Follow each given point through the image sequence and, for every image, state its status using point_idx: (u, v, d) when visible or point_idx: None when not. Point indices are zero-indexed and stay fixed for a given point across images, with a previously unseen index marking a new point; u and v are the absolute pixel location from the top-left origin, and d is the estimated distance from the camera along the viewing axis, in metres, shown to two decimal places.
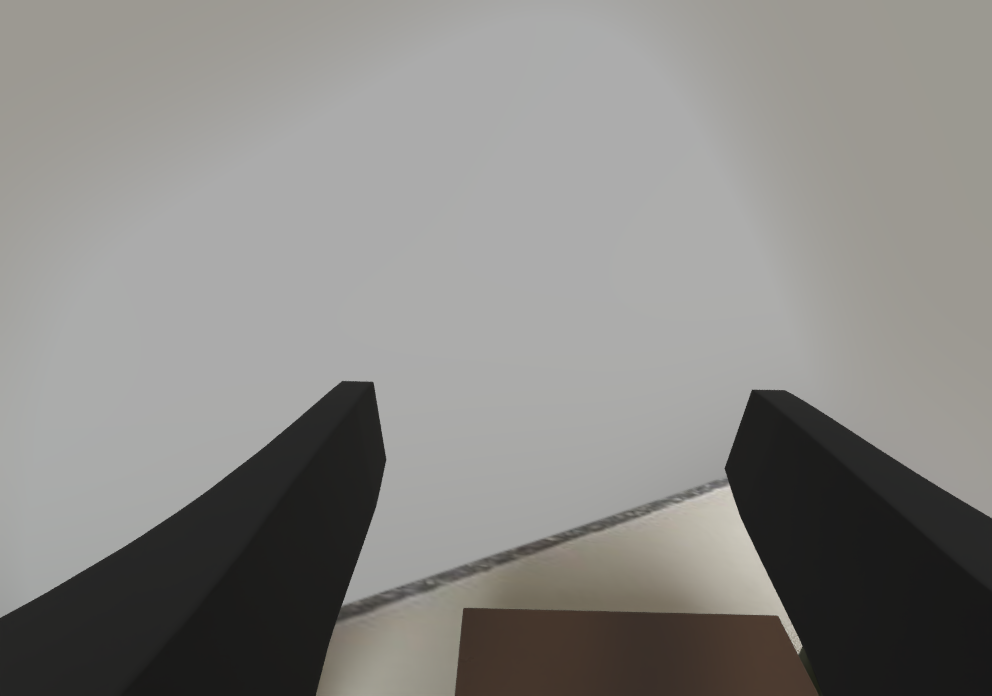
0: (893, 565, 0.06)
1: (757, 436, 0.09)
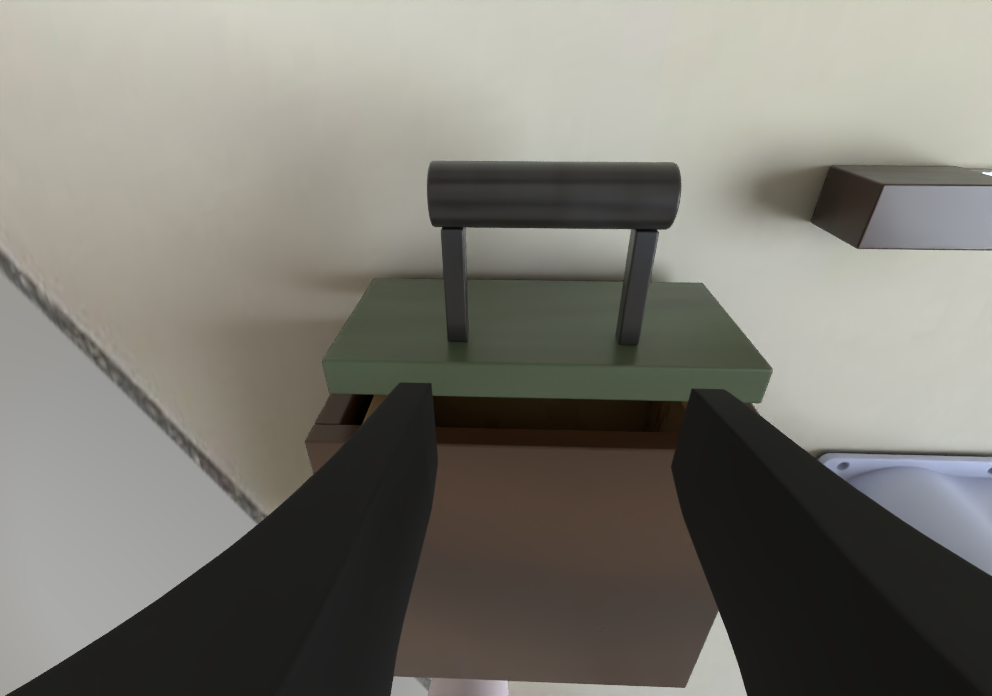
0: (800, 562, 0.06)
1: (695, 434, 0.09)
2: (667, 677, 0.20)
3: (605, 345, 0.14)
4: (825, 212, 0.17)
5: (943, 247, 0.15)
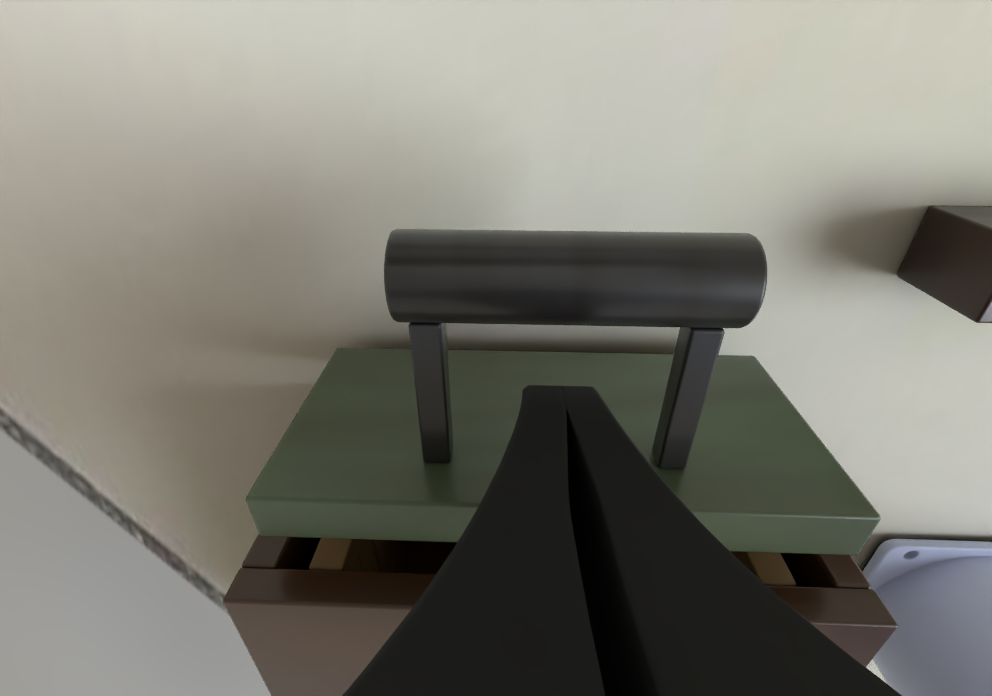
0: (599, 556, 0.06)
1: None
2: None
3: None
4: (921, 266, 0.13)
5: None
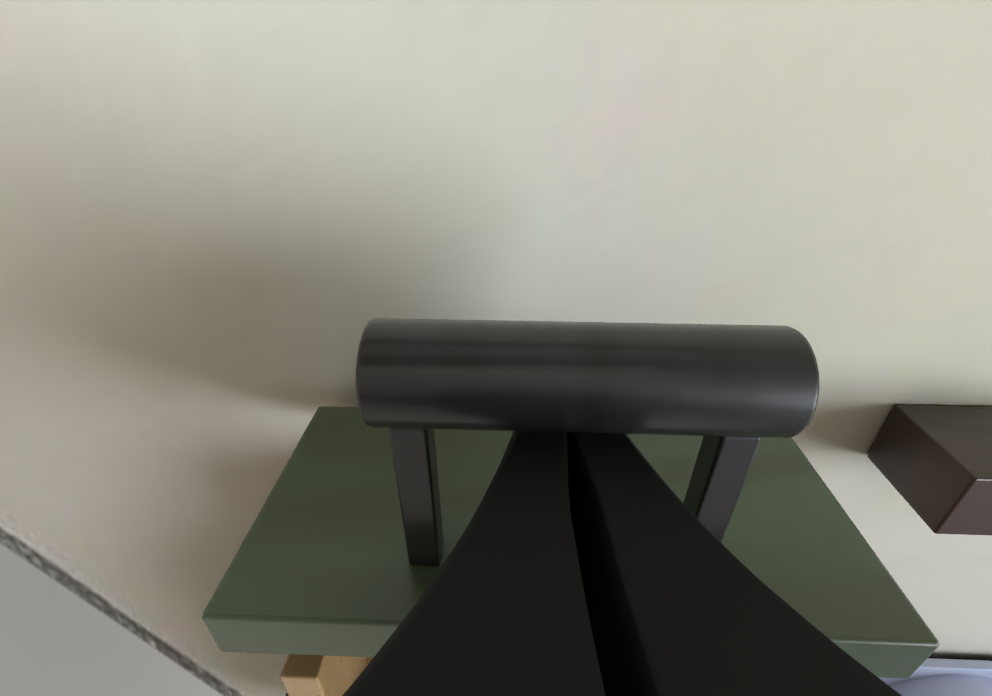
0: (599, 556, 0.06)
1: None
2: None
3: None
4: (887, 457, 0.14)
5: None
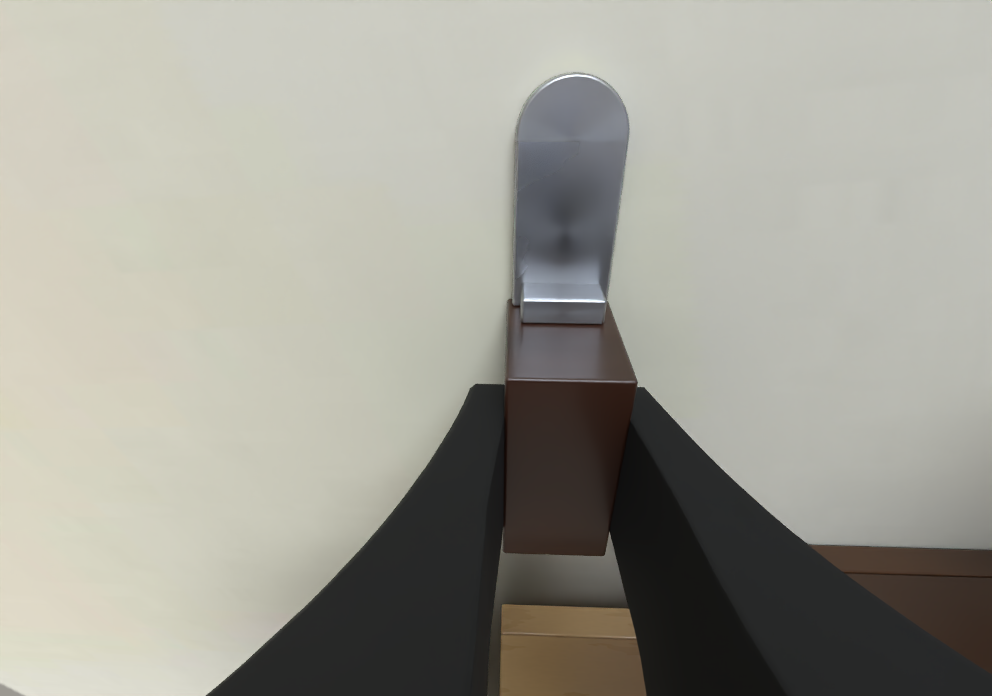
0: (677, 558, 0.06)
1: None
2: None
3: None
4: None
5: (617, 458, 0.08)
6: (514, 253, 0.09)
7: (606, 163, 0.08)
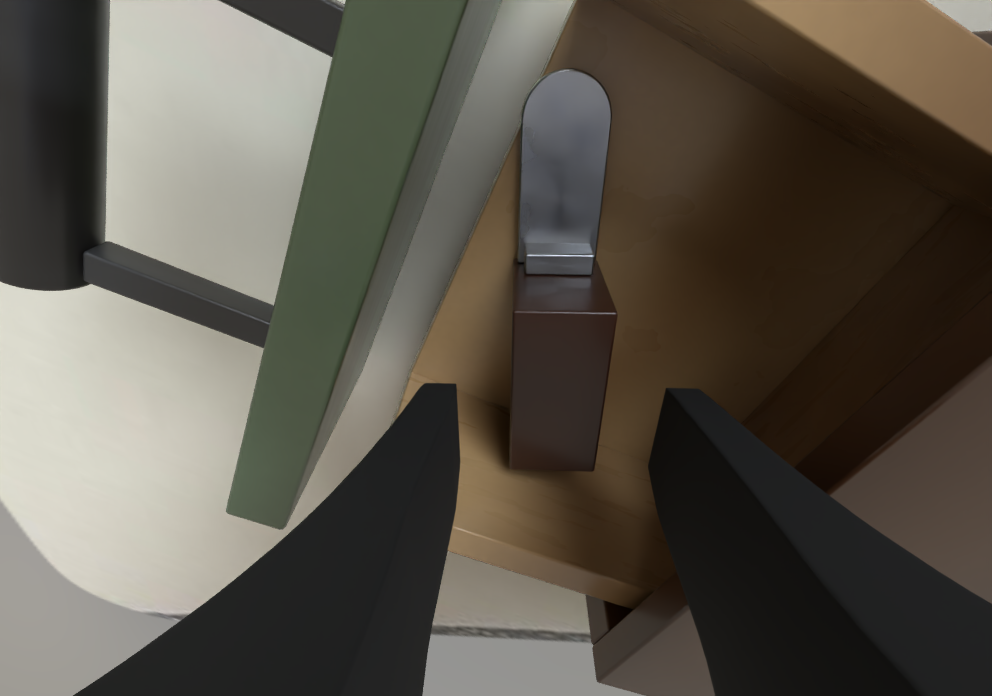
0: (760, 561, 0.06)
1: (668, 434, 0.09)
2: None
3: None
4: None
5: (603, 381, 0.10)
6: (519, 217, 0.11)
7: (593, 141, 0.10)
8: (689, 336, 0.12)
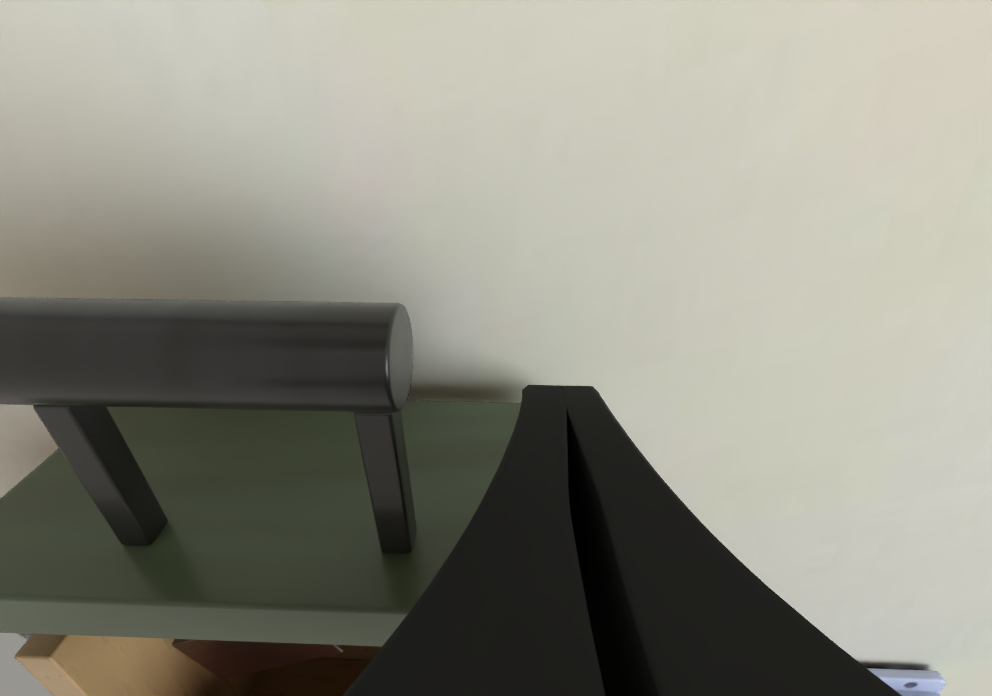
0: (599, 556, 0.06)
1: None
2: None
3: (360, 553, 0.09)
4: None
5: (293, 662, 0.13)
6: None
7: None
8: None
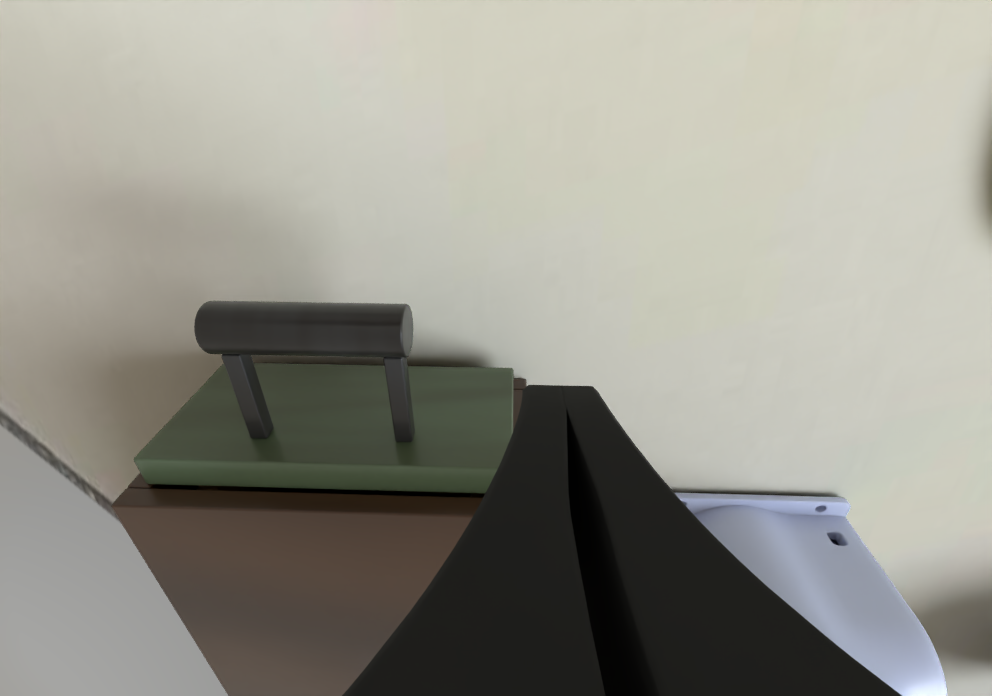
0: (599, 556, 0.06)
1: None
2: None
3: (384, 442, 0.16)
4: None
5: None
6: None
7: None
8: None
